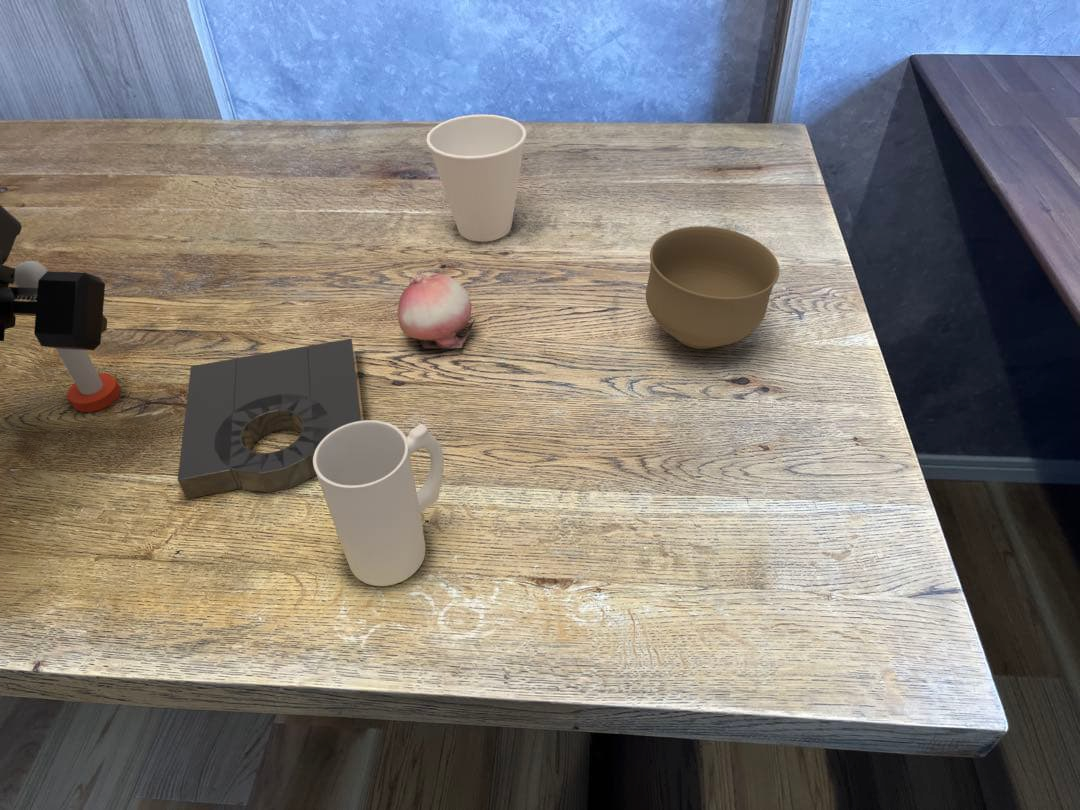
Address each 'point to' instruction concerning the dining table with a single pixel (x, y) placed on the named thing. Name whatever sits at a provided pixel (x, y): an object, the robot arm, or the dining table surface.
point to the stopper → (74, 357)
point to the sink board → (265, 416)
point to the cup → (479, 171)
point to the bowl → (709, 285)
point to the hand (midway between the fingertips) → (59, 322)
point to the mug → (378, 496)
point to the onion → (435, 311)
